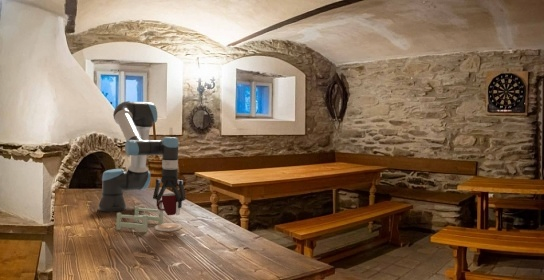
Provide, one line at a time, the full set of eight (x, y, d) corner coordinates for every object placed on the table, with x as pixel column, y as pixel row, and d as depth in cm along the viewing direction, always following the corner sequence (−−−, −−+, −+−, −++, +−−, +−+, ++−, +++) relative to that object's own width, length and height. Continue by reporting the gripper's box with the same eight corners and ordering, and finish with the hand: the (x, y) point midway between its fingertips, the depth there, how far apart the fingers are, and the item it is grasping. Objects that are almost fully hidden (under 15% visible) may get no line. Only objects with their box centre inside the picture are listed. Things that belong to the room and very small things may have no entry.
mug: (160, 217, 196) (159, 197, 195) (156, 215, 203) (154, 195, 202) (181, 214, 201) (180, 194, 201) (176, 212, 208) (175, 192, 208)
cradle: (116, 229, 196) (116, 213, 195) (135, 221, 213) (136, 206, 213) (145, 232, 193) (145, 215, 193) (162, 223, 211) (163, 208, 210)
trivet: (149, 230, 197) (150, 228, 197) (162, 223, 210) (162, 221, 210) (175, 232, 195) (175, 230, 195) (186, 225, 208) (186, 224, 208)
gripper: (145, 168, 200) (144, 213, 200) (187, 170, 196) (186, 217, 196) (153, 166, 207) (152, 210, 208) (193, 168, 203) (192, 213, 204)
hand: (168, 213), depth 202 cm, fingers closed on mug, 9 cm apart
